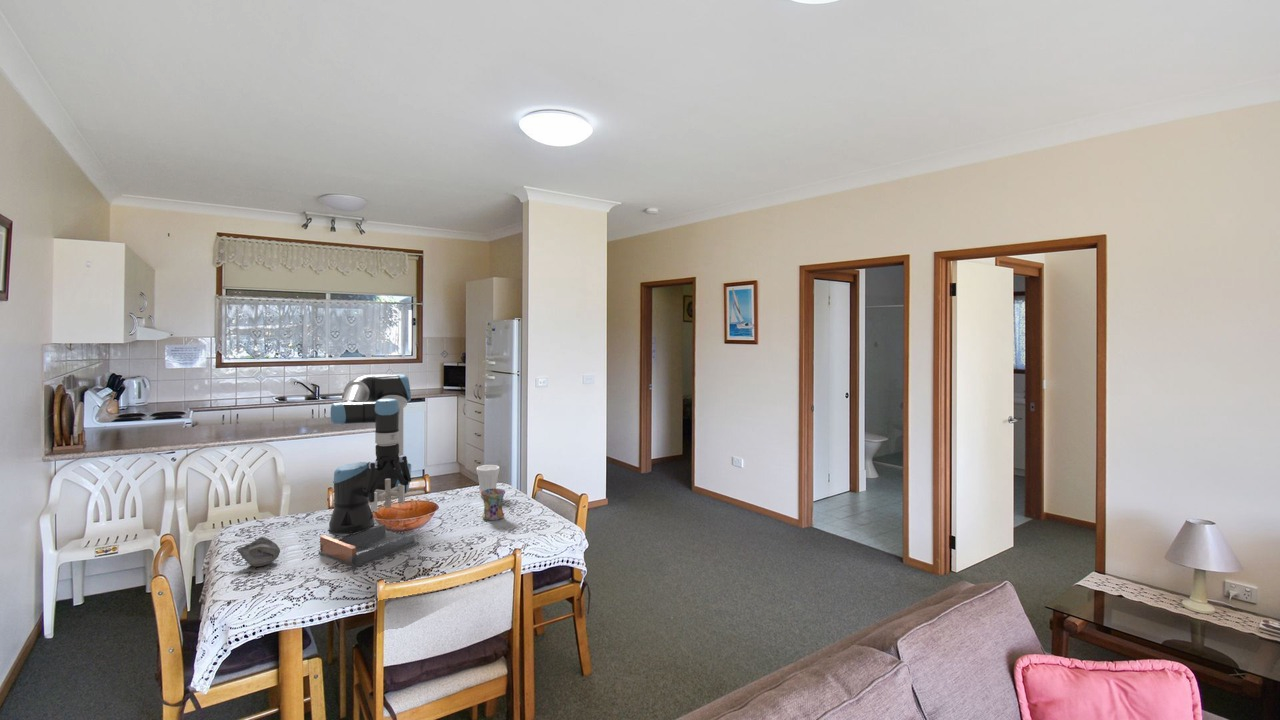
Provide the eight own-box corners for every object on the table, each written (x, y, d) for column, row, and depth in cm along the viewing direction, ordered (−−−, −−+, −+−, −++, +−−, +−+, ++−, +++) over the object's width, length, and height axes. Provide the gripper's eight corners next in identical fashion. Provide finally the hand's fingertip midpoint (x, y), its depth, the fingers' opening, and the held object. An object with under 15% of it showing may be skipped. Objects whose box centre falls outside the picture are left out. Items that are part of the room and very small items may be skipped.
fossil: (239, 573, 179) (238, 548, 179) (237, 563, 186) (236, 538, 186) (281, 564, 186) (281, 540, 185) (278, 555, 193) (277, 531, 193)
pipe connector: (392, 513, 199) (391, 484, 198) (366, 510, 201) (365, 481, 200) (409, 504, 209) (409, 476, 208) (384, 501, 211) (384, 474, 210)
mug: (509, 518, 232) (509, 492, 231) (487, 523, 226) (487, 496, 225) (495, 510, 241) (495, 485, 240) (474, 515, 235) (474, 489, 235)
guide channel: (383, 531, 215) (383, 515, 215) (419, 543, 205) (418, 527, 204) (318, 553, 195) (318, 535, 195) (354, 568, 185) (353, 549, 184)
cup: (472, 499, 256) (472, 469, 255) (482, 492, 266) (482, 464, 265) (494, 500, 254) (494, 471, 253) (503, 494, 264) (503, 465, 263)
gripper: (363, 450, 192) (364, 517, 193) (421, 439, 211) (422, 500, 212) (350, 447, 196) (351, 513, 197) (408, 437, 215) (409, 497, 216)
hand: (388, 506), depth 205 cm, fingers closed on pipe connector, 10 cm apart
